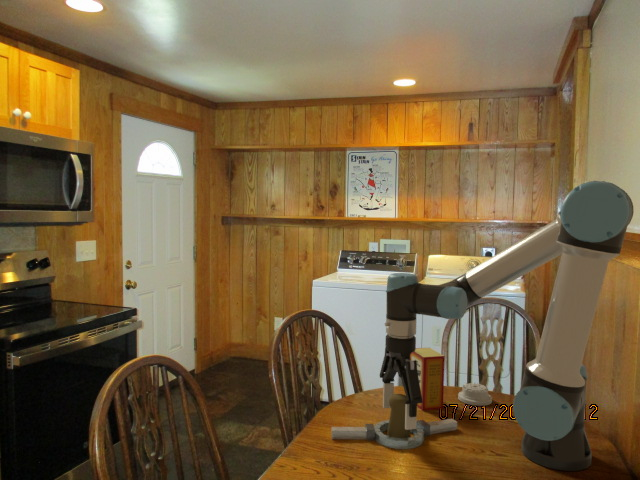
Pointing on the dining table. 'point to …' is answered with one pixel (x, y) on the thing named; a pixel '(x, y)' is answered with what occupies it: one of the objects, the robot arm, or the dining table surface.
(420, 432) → the grey flat ringed bar
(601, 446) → the dining table surface
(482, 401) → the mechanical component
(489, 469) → the dining table surface
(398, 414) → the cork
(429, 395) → the baking soda box
